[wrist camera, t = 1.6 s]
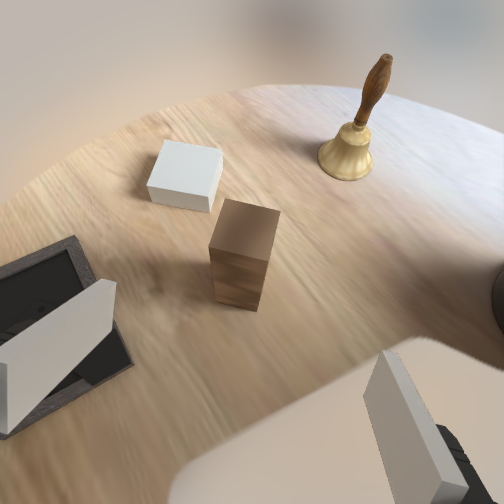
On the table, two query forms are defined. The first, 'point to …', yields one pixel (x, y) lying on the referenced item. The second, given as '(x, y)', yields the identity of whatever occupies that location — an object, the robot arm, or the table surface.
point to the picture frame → (47, 300)
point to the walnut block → (241, 252)
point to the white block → (186, 176)
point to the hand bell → (356, 131)
